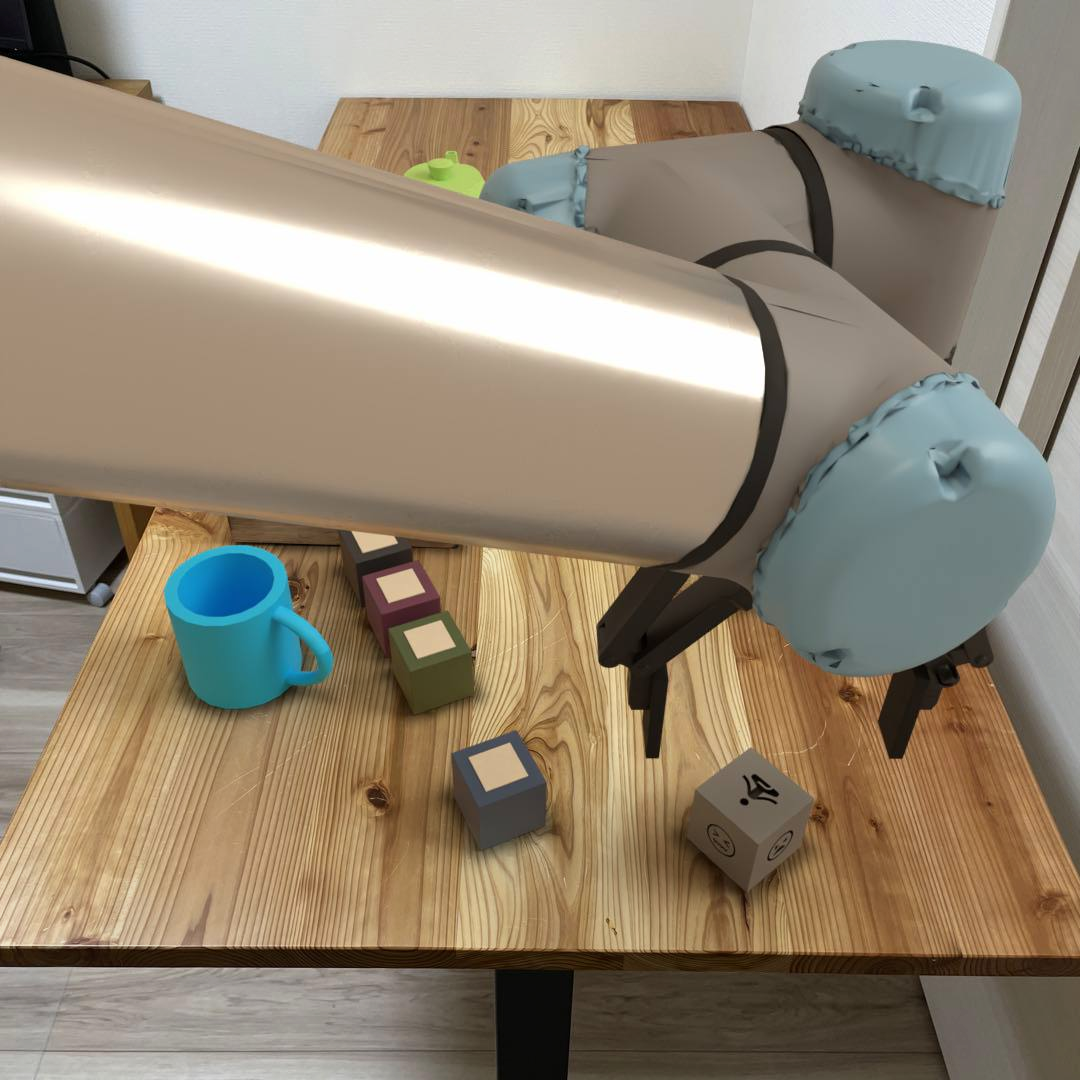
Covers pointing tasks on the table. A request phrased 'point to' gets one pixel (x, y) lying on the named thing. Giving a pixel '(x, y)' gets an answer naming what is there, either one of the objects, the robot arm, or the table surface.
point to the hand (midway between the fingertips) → (770, 740)
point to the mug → (240, 628)
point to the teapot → (449, 175)
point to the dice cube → (749, 818)
